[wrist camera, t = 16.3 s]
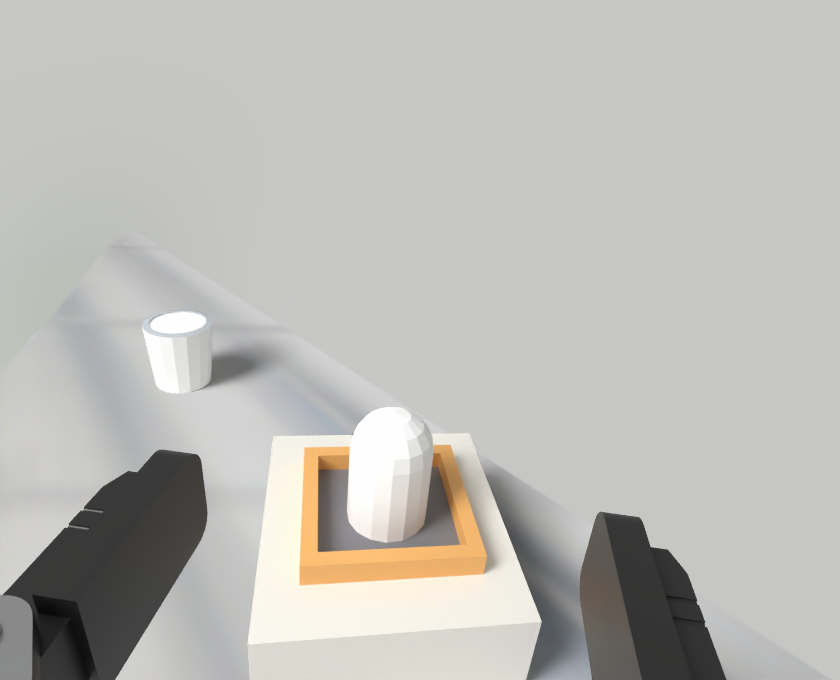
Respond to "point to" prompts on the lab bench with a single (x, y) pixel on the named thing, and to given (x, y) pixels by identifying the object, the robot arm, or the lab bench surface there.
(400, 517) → the capsule
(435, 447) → the plate
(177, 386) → the white tapered cup
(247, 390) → the lab bench surface
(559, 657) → the lab bench surface
